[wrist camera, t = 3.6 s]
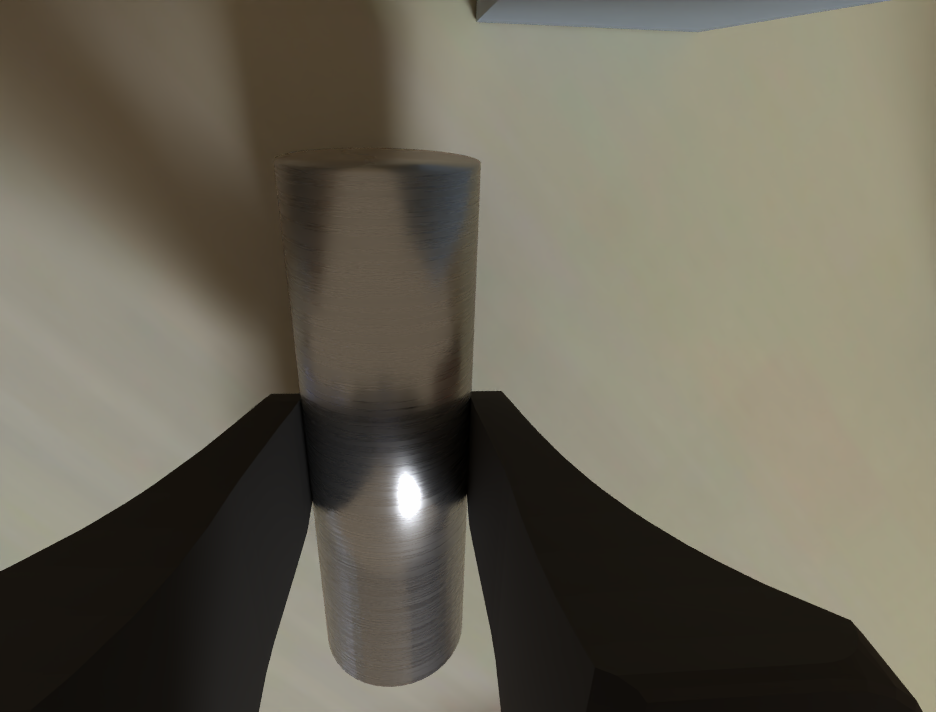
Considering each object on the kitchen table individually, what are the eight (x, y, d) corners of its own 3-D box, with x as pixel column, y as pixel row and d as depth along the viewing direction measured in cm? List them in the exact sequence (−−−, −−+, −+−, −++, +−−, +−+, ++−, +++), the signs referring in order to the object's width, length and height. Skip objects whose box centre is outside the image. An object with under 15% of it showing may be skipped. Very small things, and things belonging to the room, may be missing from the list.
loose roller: (457, 568, 14) (466, 682, 12) (337, 572, 14) (318, 690, 11) (472, 150, 10) (491, 177, 7) (296, 146, 10) (247, 171, 7)
